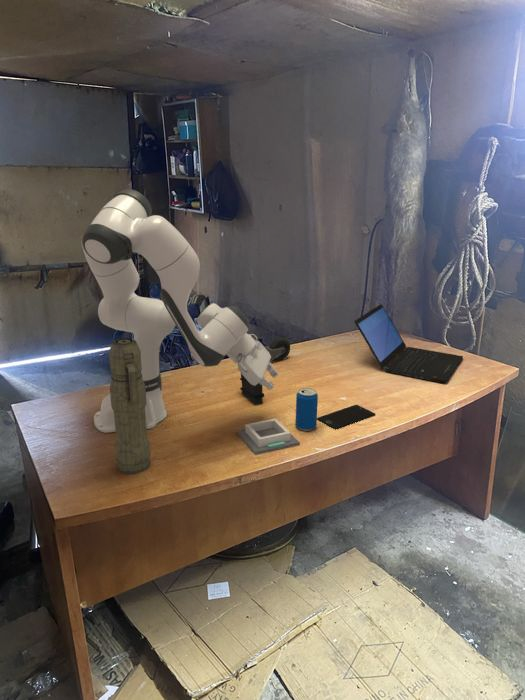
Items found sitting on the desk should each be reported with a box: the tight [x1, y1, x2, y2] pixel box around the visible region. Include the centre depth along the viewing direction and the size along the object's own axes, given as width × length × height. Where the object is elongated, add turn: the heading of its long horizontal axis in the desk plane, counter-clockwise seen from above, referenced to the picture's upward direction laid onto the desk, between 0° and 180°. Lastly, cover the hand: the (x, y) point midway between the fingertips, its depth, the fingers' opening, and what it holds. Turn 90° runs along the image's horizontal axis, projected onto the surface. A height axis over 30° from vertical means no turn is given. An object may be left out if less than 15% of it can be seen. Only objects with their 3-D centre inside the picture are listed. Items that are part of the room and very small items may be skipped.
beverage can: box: [295, 387, 319, 432], centre depth 163 cm, size 6×6×12 cm
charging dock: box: [236, 418, 301, 455], centre depth 157 cm, size 14×14×3 cm
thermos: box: [108, 337, 151, 475], centre depth 137 cm, size 9×12×35 cm
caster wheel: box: [264, 337, 291, 364], centre depth 218 cm, size 6×10×15 cm
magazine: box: [239, 371, 265, 406], centre depth 183 cm, size 4×13×15 cm, turn 27°
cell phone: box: [317, 404, 376, 431], centre depth 171 cm, size 9×18×1 cm, turn 126°
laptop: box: [354, 303, 464, 384], centre depth 217 cm, size 33×38×19 cm
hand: (274, 381), depth 161 cm, fingers open, 8 cm apart
